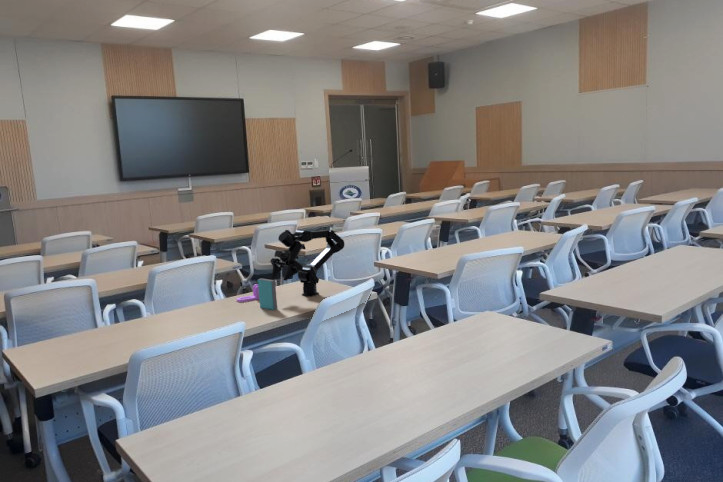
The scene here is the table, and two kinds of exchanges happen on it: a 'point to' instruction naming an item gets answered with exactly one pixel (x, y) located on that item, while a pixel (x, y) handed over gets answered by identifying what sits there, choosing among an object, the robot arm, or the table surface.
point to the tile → (267, 294)
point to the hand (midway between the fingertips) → (278, 279)
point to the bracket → (250, 298)
